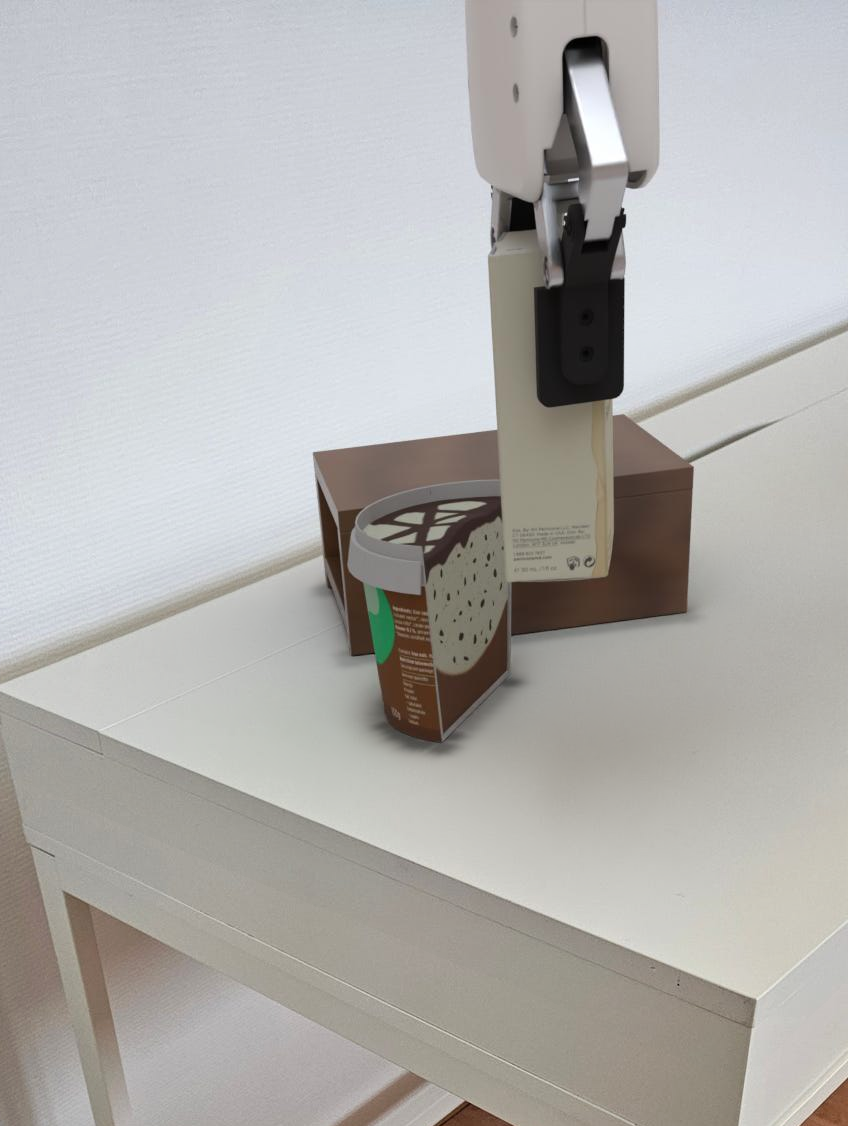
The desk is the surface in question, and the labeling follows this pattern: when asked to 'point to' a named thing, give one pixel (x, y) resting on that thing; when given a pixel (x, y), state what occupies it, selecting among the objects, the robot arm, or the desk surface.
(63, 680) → the desk surface
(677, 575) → the shelf
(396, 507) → the food container
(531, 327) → the cosmetic box
